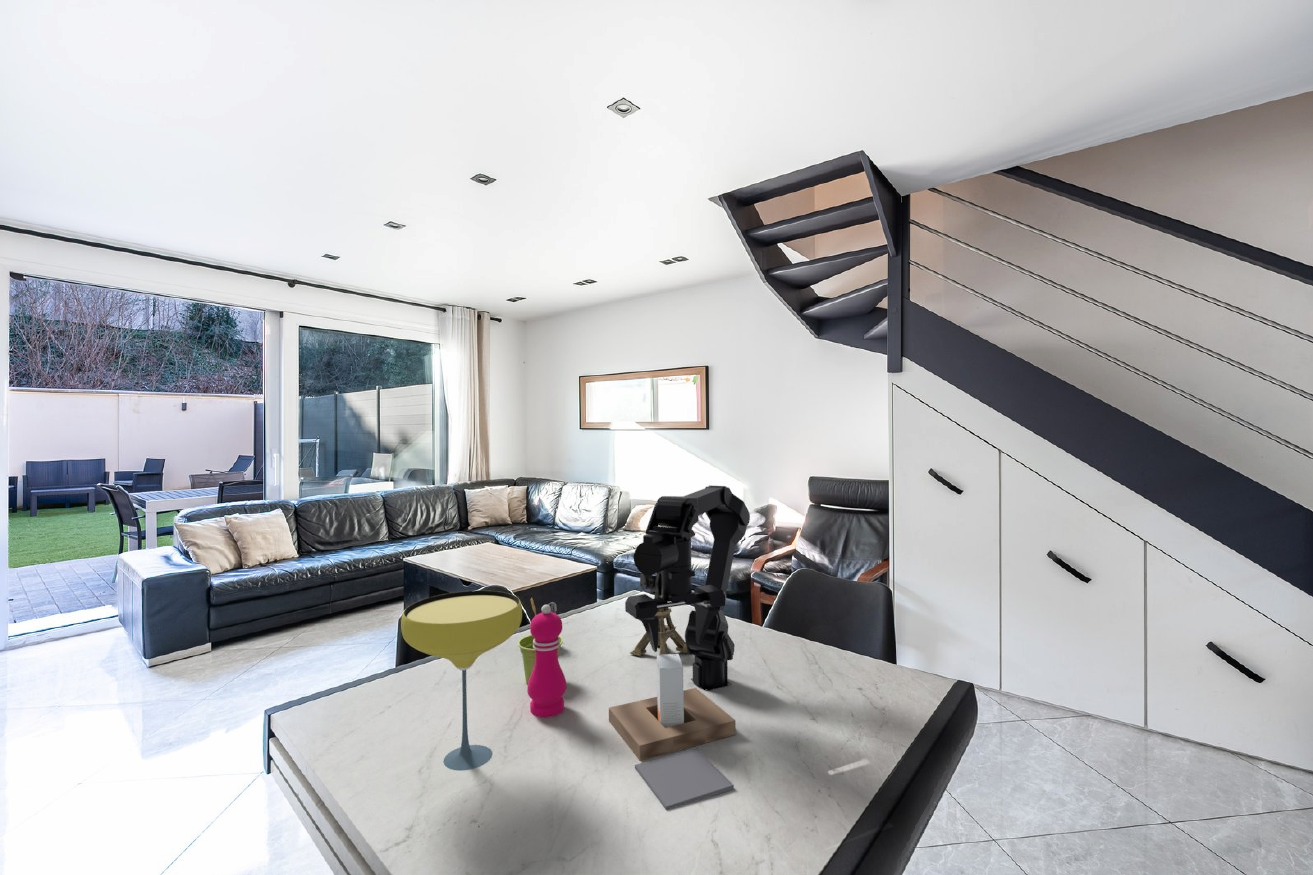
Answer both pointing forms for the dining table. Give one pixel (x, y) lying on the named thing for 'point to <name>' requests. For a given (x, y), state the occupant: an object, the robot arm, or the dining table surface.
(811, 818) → the dining table surface
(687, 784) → the coaster
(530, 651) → the plant pot
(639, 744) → the holder block
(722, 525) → the robot arm
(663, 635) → the eiffel tower
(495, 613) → the cocktail glass
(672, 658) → the skincare box
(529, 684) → the pepper mill
